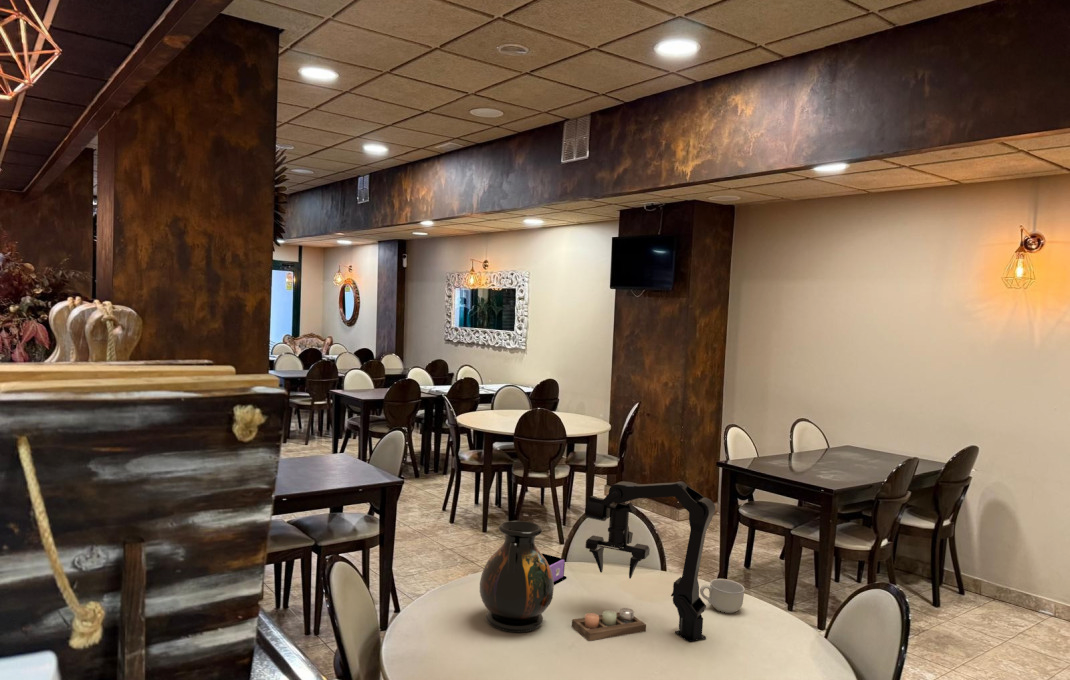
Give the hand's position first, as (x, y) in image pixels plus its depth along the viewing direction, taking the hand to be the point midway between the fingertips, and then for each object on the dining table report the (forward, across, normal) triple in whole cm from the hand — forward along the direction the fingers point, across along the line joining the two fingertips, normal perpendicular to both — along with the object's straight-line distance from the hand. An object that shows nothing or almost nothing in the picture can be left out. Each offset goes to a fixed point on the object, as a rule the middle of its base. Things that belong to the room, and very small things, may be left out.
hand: (615, 575), depth 215 cm
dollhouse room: (+12, +30, -17) cm, 37 cm away
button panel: (+12, -2, +10) cm, 16 cm away
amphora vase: (+12, +23, +21) cm, 34 cm away
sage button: (+11, -2, +11) cm, 15 cm away
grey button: (+11, -6, +6) cm, 13 cm away
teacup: (+12, -28, -24) cm, 39 cm away
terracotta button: (+11, +2, +15) cm, 19 cm away
